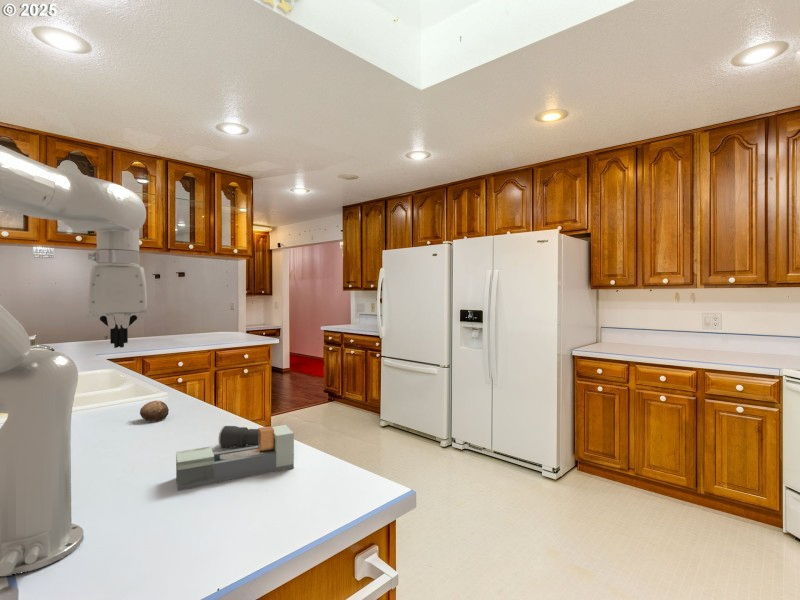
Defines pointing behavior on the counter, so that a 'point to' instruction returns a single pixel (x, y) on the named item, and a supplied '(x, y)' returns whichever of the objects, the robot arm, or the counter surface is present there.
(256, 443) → the flashlight
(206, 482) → the toy lathe
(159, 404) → the brown rounded lump
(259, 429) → the hammer
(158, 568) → the counter surface
